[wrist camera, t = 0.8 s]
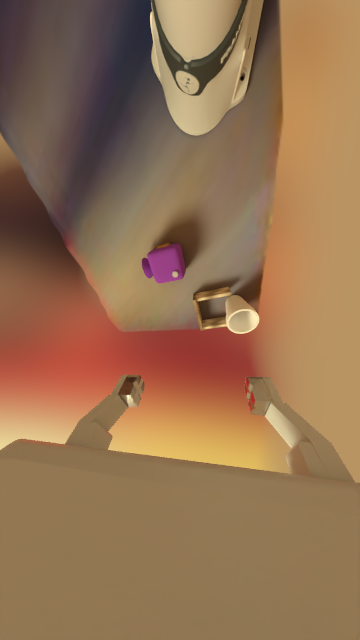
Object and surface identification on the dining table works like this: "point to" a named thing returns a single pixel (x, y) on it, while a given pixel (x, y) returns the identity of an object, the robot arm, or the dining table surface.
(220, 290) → the cup holder
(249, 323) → the foam cup
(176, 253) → the toy camera
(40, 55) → the dining table surface
